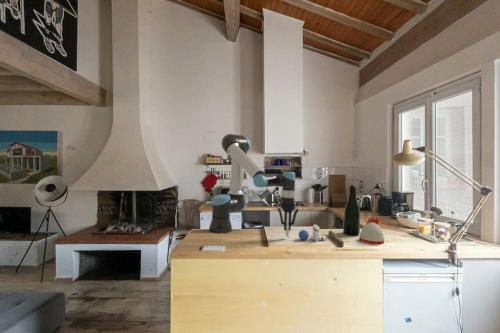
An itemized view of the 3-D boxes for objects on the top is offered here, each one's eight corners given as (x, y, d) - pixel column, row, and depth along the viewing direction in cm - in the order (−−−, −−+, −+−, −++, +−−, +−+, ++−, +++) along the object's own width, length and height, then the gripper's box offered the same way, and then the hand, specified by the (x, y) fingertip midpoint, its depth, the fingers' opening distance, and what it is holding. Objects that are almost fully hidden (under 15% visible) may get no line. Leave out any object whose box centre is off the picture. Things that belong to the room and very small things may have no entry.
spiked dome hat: (386, 245, 161) (387, 219, 161) (361, 243, 164) (362, 218, 164) (380, 239, 175) (381, 215, 175) (357, 237, 177) (358, 214, 177)
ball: (311, 237, 166) (303, 243, 167) (306, 229, 170) (298, 234, 171) (308, 235, 162) (300, 240, 163) (303, 226, 166) (295, 232, 166)
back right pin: (313, 241, 165) (314, 226, 165) (315, 240, 166) (316, 226, 166) (317, 242, 163) (317, 227, 163) (319, 241, 165) (319, 227, 165)
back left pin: (311, 238, 170) (312, 225, 170) (314, 238, 171) (314, 224, 171) (315, 239, 168) (315, 225, 168) (317, 239, 170) (318, 225, 170)
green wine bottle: (360, 236, 179) (362, 185, 178) (343, 235, 181) (345, 185, 181) (358, 232, 189) (360, 184, 188) (342, 231, 191) (343, 184, 191)
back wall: (339, 246, 155) (339, 241, 155) (328, 235, 179) (328, 230, 179) (343, 246, 155) (343, 241, 155) (331, 235, 179) (331, 231, 179)
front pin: (310, 234, 167) (325, 235, 167) (310, 237, 169) (324, 237, 169) (311, 238, 165) (325, 239, 165) (310, 240, 167) (324, 241, 167)
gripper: (278, 197, 164) (276, 237, 164) (300, 198, 163) (298, 237, 164) (277, 196, 171) (275, 233, 171) (298, 196, 171) (296, 234, 171)
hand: (287, 235), depth 168 cm, fingers closed
